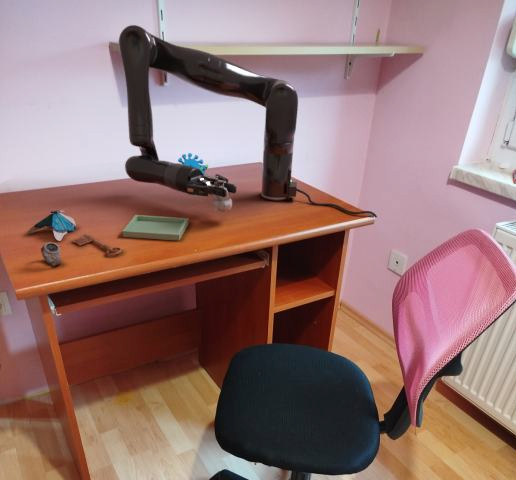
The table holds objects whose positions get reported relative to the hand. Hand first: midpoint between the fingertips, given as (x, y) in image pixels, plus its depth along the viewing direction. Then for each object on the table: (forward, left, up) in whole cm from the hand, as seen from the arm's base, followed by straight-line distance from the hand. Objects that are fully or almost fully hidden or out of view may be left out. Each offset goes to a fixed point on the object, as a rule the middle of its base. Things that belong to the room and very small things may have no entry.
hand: (230, 191), depth 131 cm
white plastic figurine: (+3, -1, -6) cm, 7 cm away
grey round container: (+38, +32, -9) cm, 50 cm away
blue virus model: (+19, -41, -9) cm, 46 cm away
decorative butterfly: (+45, +14, -9) cm, 48 cm away
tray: (+19, +8, -9) cm, 23 cm away
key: (+31, +22, -9) cm, 39 cm away
